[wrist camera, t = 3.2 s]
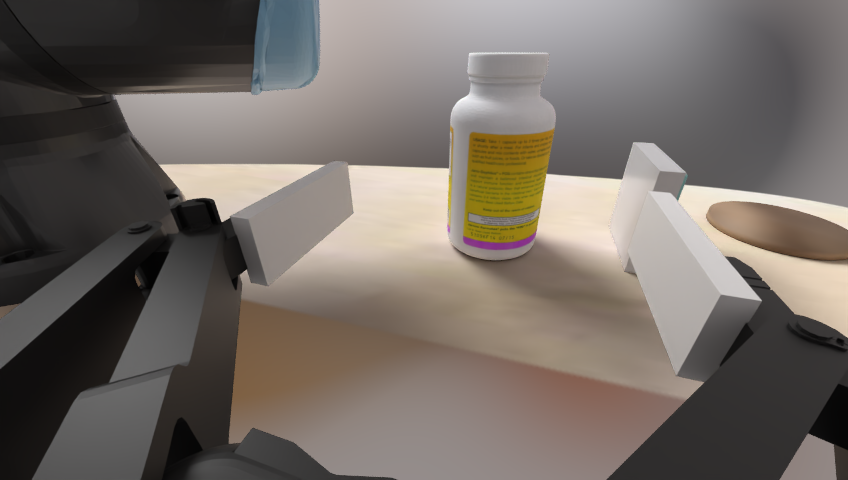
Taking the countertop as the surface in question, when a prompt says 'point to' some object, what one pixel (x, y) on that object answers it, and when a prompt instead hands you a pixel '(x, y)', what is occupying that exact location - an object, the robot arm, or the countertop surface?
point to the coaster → (780, 230)
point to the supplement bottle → (499, 155)
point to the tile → (641, 192)
